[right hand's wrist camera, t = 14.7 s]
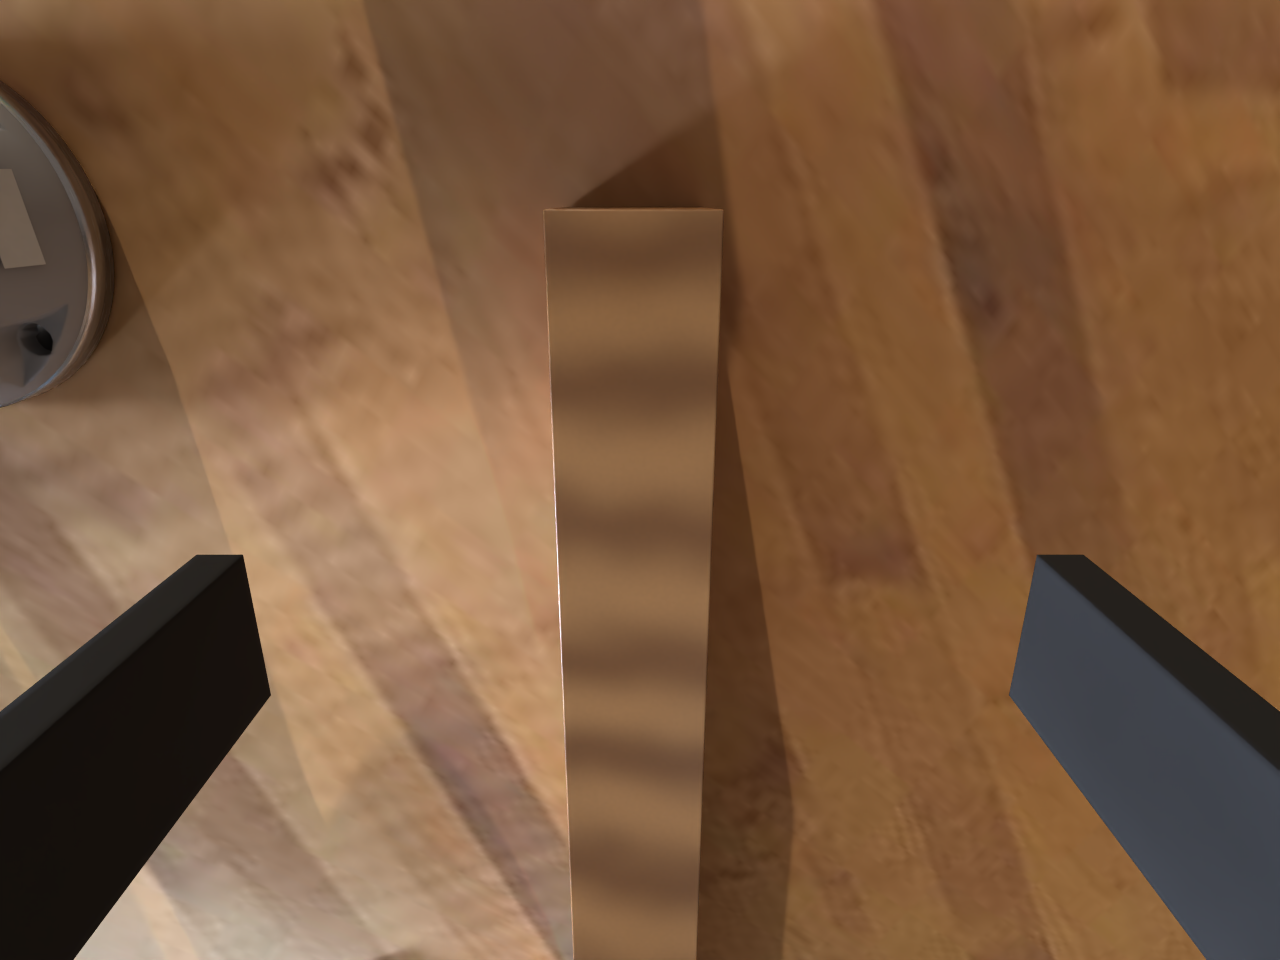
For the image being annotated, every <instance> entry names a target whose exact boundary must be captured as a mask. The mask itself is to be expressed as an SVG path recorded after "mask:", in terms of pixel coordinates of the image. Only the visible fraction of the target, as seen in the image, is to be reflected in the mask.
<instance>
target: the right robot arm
mask: <svg viewBox="0 0 1280 960" xmlns="http://www.w3.org/2000/svg"><path fill="white" fill-rule="evenodd" d="M113 291H114V263H113V252H112V247H111V241H110V236H109V232H108V228H107V225H106V221H105V218H104V215H103V212H102V209H101V207H100V204H99V201H98V199H97V197H96V194H95V192H94V190H93V188H92V186H91V184H90V182H89V180H88V178H87V176H86V174H85V173H84V171H83V169H82V168H81V166H80V164H79V162H78V161H77V159H76V158H75V156H74V155H73V153H72V152H71V151H70V149H69V148H68V146H67V145H66V143H65V142H64V141H63V140H62V138H61V137H60V136H59V135H58V133H57V132H56V131H55V130H54V128H53V127H52V126H51V125H50V124H49V123H48V122H47V121H46V120H45V119H44V118H43V117H42V115H41V114H40V113H39V112H38V111H37V110H35V109H34V108H33V107H32V106H31V105H30V104H29V103H28V102H27V101H26V100H25V99H24V98H22V97H21V96H20V95H19V94H17V93H16V92H15V91H14V90H12V89H11V88H10V87H9V86H7V85H6V84H5V83H3V82H2V81H0V407H4V406H8V405H11V404H14V403H17V402H20V401H23V400H26V399H29V398H32V397H35V396H37V395H40V394H42V393H45V392H47V391H49V390H51V389H53V388H55V387H56V386H58V385H60V384H61V383H63V382H64V381H65V380H67V379H68V378H70V377H71V376H72V375H73V374H74V373H75V372H76V371H77V370H79V369H80V368H81V367H82V365H83V364H84V363H85V362H86V361H87V359H88V358H89V357H90V356H91V354H92V353H93V351H94V350H95V348H96V346H97V345H98V343H99V341H100V339H101V337H102V335H103V333H104V330H105V327H106V324H107V321H108V319H109V315H110V310H111V306H112V300H113ZM270 696H271V693H270V688H269V683H268V678H267V673H266V668H265V663H264V658H263V653H262V648H261V643H260V638H259V633H258V628H257V623H256V618H255V613H254V608H253V603H252V598H251V593H250V588H249V583H248V578H247V573H246V568H245V563H244V558H243V555H196V556H195V557H193V558H192V559H191V560H190V561H188V562H187V563H186V564H184V565H183V566H182V567H181V568H179V569H178V570H177V571H176V572H174V573H173V574H172V575H171V576H169V577H168V578H167V579H166V580H164V581H163V582H162V583H161V584H159V585H158V586H157V587H156V588H154V589H153V590H152V591H151V592H149V593H148V594H147V595H146V596H144V597H143V598H142V599H141V600H139V601H138V602H137V603H136V604H134V605H133V606H132V607H131V608H129V609H128V610H127V611H126V612H124V613H123V614H122V615H121V616H119V617H118V618H117V619H116V620H114V621H113V622H112V623H111V624H109V625H108V626H107V627H106V628H104V629H103V630H102V631H101V632H99V633H98V634H97V635H96V636H94V637H93V638H92V639H91V640H89V641H88V642H87V643H86V644H84V645H83V646H82V647H81V648H79V649H78V650H77V651H76V652H74V653H73V654H72V655H71V656H69V657H68V658H67V659H66V660H64V661H63V662H62V663H61V664H59V665H58V666H57V667H56V668H54V669H53V670H52V671H51V672H49V673H48V674H47V675H46V676H44V677H43V678H42V679H41V680H39V681H38V682H37V683H35V684H34V685H33V686H32V687H30V688H29V689H28V690H27V691H25V692H24V693H23V694H22V695H20V696H19V697H18V698H17V699H15V700H14V701H13V702H12V703H10V704H9V705H8V706H7V707H5V708H4V709H3V710H2V711H0V960H74V958H75V957H76V955H77V954H78V953H79V951H80V950H81V949H82V947H83V946H84V945H85V943H86V942H87V941H88V939H89V938H90V937H91V935H92V934H93V933H94V931H95V930H96V929H97V927H98V926H99V925H100V923H101V922H102V921H103V919H104V918H105V917H106V915H107V914H108V913H109V911H110V910H111V909H112V907H113V906H114V905H115V903H116V902H117V901H118V899H119V898H120V897H121V895H122V894H123V893H124V891H125V890H126V889H127V887H128V886H129V885H130V883H131V882H132V880H133V879H134V878H135V876H136V875H137V874H138V872H139V871H140V870H141V868H142V867H143V866H144V864H145V863H146V862H147V860H148V859H149V858H150V856H151V855H152V854H153V852H154V851H155V850H156V848H157V847H158V846H159V844H160V843H161V842H162V840H163V839H164V838H165V836H166V835H167V834H168V832H169V831H170V830H171V828H172V827H173V826H174V824H175V823H176V822H177V820H178V819H179V818H180V816H181V815H182V814H183V812H184V811H185V809H186V808H187V807H188V805H189V804H190V803H191V801H192V800H193V799H194V797H195V796H196V795H197V793H198V792H199V791H200V789H201V788H202V787H203V785H204V784H205V783H206V781H207V780H208V779H209V777H210V776H211V775H212V773H213V772H214V771H215V769H216V768H217V767H218V765H219V764H220V763H221V761H222V760H223V759H224V757H225V756H226V755H227V753H228V752H229V751H230V749H231V748H232V747H233V745H234V744H235V743H236V741H237V740H238V739H239V737H240V736H241V734H242V733H243V732H244V730H245V729H246V728H247V726H248V725H249V724H250V722H251V721H252V720H253V718H254V717H255V716H256V714H257V713H258V712H259V710H260V709H261V708H262V706H263V705H264V704H265V702H266V701H267V700H268V698H269V697H270ZM1009 696H1010V697H1011V698H1012V700H1013V701H1014V702H1015V704H1016V705H1017V706H1018V708H1019V709H1020V710H1021V712H1022V713H1023V714H1024V716H1025V717H1026V718H1027V720H1028V721H1029V722H1030V724H1031V725H1032V726H1033V728H1034V729H1035V730H1036V732H1037V733H1038V734H1039V736H1040V737H1041V739H1042V740H1043V741H1044V743H1045V744H1046V745H1047V747H1048V748H1049V749H1050V751H1051V752H1052V753H1053V755H1054V756H1055V757H1056V759H1057V760H1058V761H1059V763H1060V764H1061V765H1062V767H1063V768H1064V769H1065V771H1066V772H1067V773H1068V775H1069V776H1070V777H1071V779H1072V780H1073V781H1074V783H1075V784H1076V785H1077V787H1078V788H1079V789H1080V791H1081V792H1082V793H1083V795H1084V796H1085V797H1086V799H1087V800H1088V801H1089V803H1090V804H1091V805H1092V807H1093V808H1094V809H1095V811H1096V812H1097V814H1098V815H1099V816H1100V818H1101V819H1102V820H1103V822H1104V823H1105V824H1106V826H1107V827H1108V828H1109V830H1110V831H1111V832H1112V834H1113V835H1114V836H1115V838H1116V839H1117V840H1118V842H1119V843H1120V844H1121V846H1122V847H1123V848H1124V850H1125V851H1126V852H1127V854H1128V855H1129V856H1130V858H1131V859H1132V860H1133V862H1134V863H1135V864H1136V866H1137V867H1138V868H1139V870H1140V871H1141V872H1142V874H1143V875H1144V876H1145V878H1146V879H1147V880H1148V882H1149V883H1150V885H1151V886H1152V887H1153V889H1154V890H1155V891H1156V893H1157V894H1158V895H1159V897H1160V898H1161V899H1162V901H1163V902H1164V903H1165V905H1166V906H1167V907H1168V909H1169V910H1170V911H1171V913H1172V914H1173V915H1174V917H1175V918H1176V919H1177V921H1178V922H1179V923H1180V925H1181V926H1182V927H1183V929H1184V930H1185V931H1186V933H1187V934H1188V935H1189V937H1190V938H1191V939H1192V941H1193V942H1194V943H1195V945H1196V946H1197V947H1198V949H1199V950H1200V951H1201V953H1202V954H1203V955H1204V957H1205V958H1206V960H1280V711H1278V710H1277V709H1276V708H1275V707H1273V706H1272V705H1271V704H1270V703H1268V702H1267V701H1266V700H1265V699H1263V698H1262V697H1261V696H1260V695H1258V694H1257V693H1256V692H1255V691H1253V690H1252V689H1251V688H1250V687H1248V686H1247V685H1246V684H1245V683H1243V682H1242V681H1241V680H1239V679H1238V678H1237V677H1236V676H1234V675H1233V674H1232V673H1231V672H1229V671H1228V670H1227V669H1226V668H1224V667H1223V666H1222V665H1221V664H1219V663H1218V662H1217V661H1216V660H1214V659H1213V658H1212V657H1211V656H1209V655H1208V654H1207V653H1206V652H1204V651H1203V650H1202V649H1201V648H1199V647H1198V646H1197V645H1196V644H1194V643H1193V642H1192V641H1191V640H1189V639H1188V638H1187V637H1186V636H1184V635H1183V634H1182V633H1181V632H1179V631H1178V630H1177V629H1176V628H1174V627H1173V626H1172V625H1171V624H1169V623H1168V622H1167V621H1166V620H1164V619H1163V618H1162V617H1161V616H1159V615H1158V614H1157V613H1156V612H1154V611H1153V610H1152V609H1151V608H1149V607H1148V606H1147V605H1146V604H1144V603H1143V602H1142V601H1141V600H1139V599H1138V598H1137V597H1136V596H1134V595H1133V594H1132V593H1131V592H1129V591H1128V590H1127V589H1126V588H1124V587H1123V586H1122V585H1121V584H1119V583H1118V582H1117V581H1116V580H1114V579H1113V578H1112V577H1111V576H1109V575H1108V574H1107V573H1106V572H1104V571H1103V570H1102V569H1101V568H1099V567H1098V566H1097V565H1096V564H1094V563H1093V562H1092V561H1090V560H1089V559H1088V558H1087V557H1085V556H1084V555H1037V558H1036V563H1035V568H1034V573H1033V578H1032V583H1031V588H1030V593H1029V598H1028V603H1027V608H1026V613H1025V618H1024V623H1023V628H1022V633H1021V638H1020V643H1019V648H1018V653H1017V658H1016V663H1015V668H1014V673H1013V678H1012V683H1011V688H1010V693H1009Z"/></svg>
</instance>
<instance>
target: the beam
mask: <svg viewBox="0 0 1280 960" xmlns="http://www.w3.org/2000/svg"><path fill="white" fill-rule="evenodd" d="M543 222H544V246H545V271H546V295H547V320H548V345H549V369H550V394H551V418H552V443H553V467H554V492H555V516H556V541H557V565H558V590H559V615H560V639H561V664H562V688H563V713H564V737H565V762H566V786H567V811H568V835H569V860H570V885H571V909H572V934H573V958H574V960H696V959H697V931H698V904H699V877H700V850H701V823H702V795H703V768H704V741H705V714H706V686H707V659H708V632H709V605H710V577H711V550H712V523H713V496H714V468H715V441H716V414H717V387H718V359H719V332H720V305H721V278H722V251H723V223H724V210H722V209H713V208H704V207H564V208H554V209H544V210H543Z"/></svg>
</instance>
